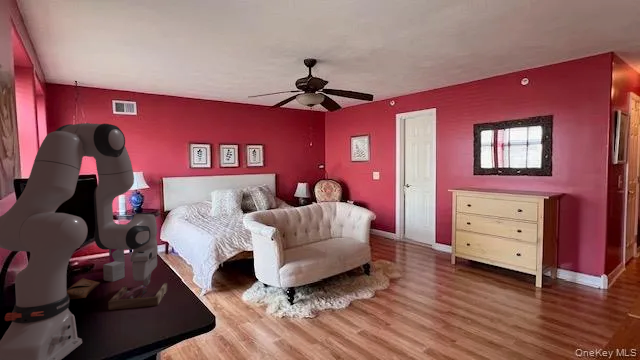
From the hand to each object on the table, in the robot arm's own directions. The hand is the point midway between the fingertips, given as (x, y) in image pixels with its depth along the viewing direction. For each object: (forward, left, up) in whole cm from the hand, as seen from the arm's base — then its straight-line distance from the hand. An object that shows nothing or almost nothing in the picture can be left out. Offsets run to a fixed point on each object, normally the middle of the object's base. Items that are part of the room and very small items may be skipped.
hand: (146, 284), depth 137 cm
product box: (+20, +19, -3) cm, 28 cm away
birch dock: (-9, 0, -3) cm, 9 cm away
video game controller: (-10, +2, -3) cm, 11 cm away
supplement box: (+38, +24, -3) cm, 45 cm away
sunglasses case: (+7, +27, -4) cm, 28 cm away
